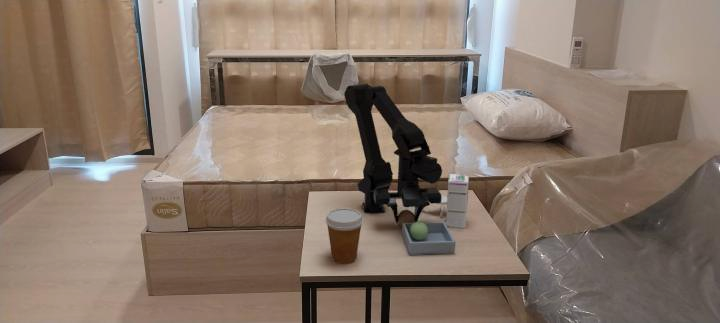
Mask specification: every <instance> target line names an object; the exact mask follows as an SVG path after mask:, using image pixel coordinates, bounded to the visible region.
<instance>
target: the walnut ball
mask: <svg viewBox="0 0 720 323" xmlns="http://www.w3.org/2000/svg"><path fill="white" fill-rule="evenodd" d="M414 221H415V216H414V212H413V211H411V210H410V209H403V210H401V211H400V212H399V213H398V224H399V225H400V226H401V227H402V223H414Z"/></svg>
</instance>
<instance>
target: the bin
mask: <svg viewBox="0 0 720 323" xmlns="http://www.w3.org/2000/svg"><path fill="white" fill-rule="evenodd" d="M422 222H423V221H422ZM423 223H424V224H426V226H427V228H428V234H427V236H426V237H425V238H424V239H422V240H416V239H414V238H413V237H412V236H411V234H410V227H411V225H412V224H413V223H402V226H401V236H402V238H403V241H404V244H405V247H406V251H407V252H408V255H409V256H426V255H427V256H430V255H432V256H433V255H436V256H437V255H455V254H456V253H455V252H456V243H457V242H456V240H455V239H454V237H453V235H452V233H451V230H450V229H449V228H448V226H447V225H446V221H436V222H435V221H433V222H432V221H431V222H430V221H429V222H428V221H427V222H425V221H424V222H423Z"/></svg>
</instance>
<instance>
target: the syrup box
mask: <svg viewBox="0 0 720 323" xmlns="http://www.w3.org/2000/svg"><path fill="white" fill-rule="evenodd" d="M469 177H470V176H469V175H468V174H459V173H450V174H449V176H448V183H447V196H446V197H447V204H446V213H445V215H446V217H445V224H446V225H447V227H449V228H450V227H451V228H459V229H465V228H466V224H467V213H468V200H469V179H470V178H469Z"/></svg>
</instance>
